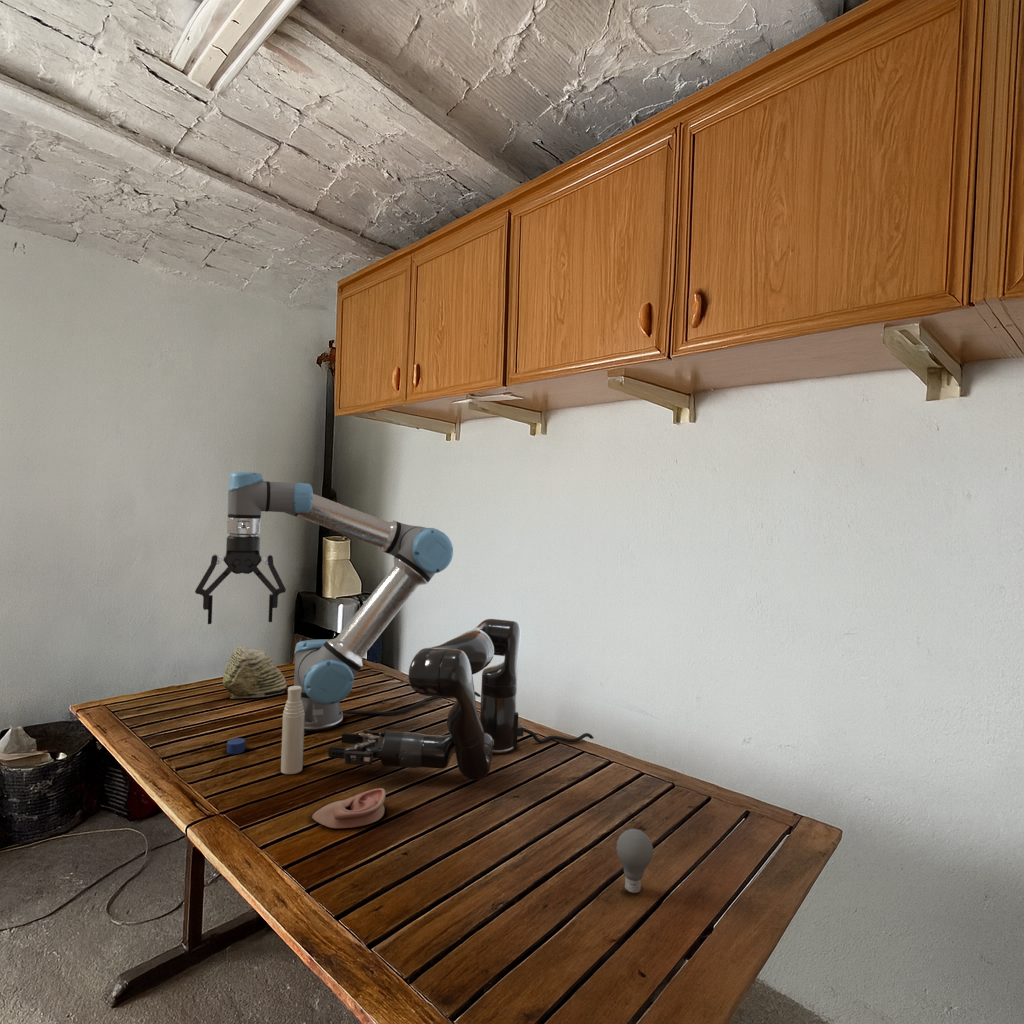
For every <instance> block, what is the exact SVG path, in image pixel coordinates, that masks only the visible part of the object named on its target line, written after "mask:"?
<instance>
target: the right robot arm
mask: <svg viewBox="0 0 1024 1024" xmlns="http://www.w3.org/2000/svg"><path fill="white" fill-rule="evenodd" d="M521 638H522V629H521V626H520V623H519V622H518V621H516V620H511V619H510V620H509V619H499V618H487V619H484V620H482V621H481V622H479V624H477V625H476V626H475V627H474V628H472V629H470V630H468V631H465V632H464V633H461V634H459V635H457V636H456V637H454V638H451V639H450V640H447V641H446V642H444V643H441V644H439V645H435V646H429V647H424V648H422V649H420V650H418V652H417V653H416V654H415V655H414V656H413V658H412V660H411V662H410V665H409V669H408V683H409V684H410V685H409V686H410V687H411V688H412V690H413V691H414V692H415V693H417V694H418V695H421V696H424V697H432V696H435V697H441V698H448V699H449V698H450V699H451V698H454V699H456V701H454V703H453V705H451V708H450V709H449V710H448V714H447V718H446V725H447V730H448V732H449V734H445V735H436V734H424V733H419V732H412V731H411V732H408V731H395V730H388V731H382V730H370V729H364V730H362V732H361V731H360V732H358V733H355V732H354V733H353V732H343V733H342V734H341V743H342V744H351V745H354V746H350V747H343V746H330V747H329V748H328V752H327V755H328V758H331V759H332V758H333V759H344V764H345V765H357V766H372V765H373V760H375V759H379V760H380V761H381V764H382V766H384V767H395V768H396V767H397V768H409V769H415V768H416V769H417V768H425V769H426V768H427V769H441V770H442V769H446V768H447V767H448V766H449V764H450V762H451V760H452V758H453V755H455V757H456V763H457V767H458V771H459V772H460V773H461V775H462V776H463V777H465V778H466V779H468V780H470V781H480V780H483V779H485V778H487V776H488V775H489V773H490V770H491V767H492V759H493V754H495V755H497V754H498V755H500V754H501V755H502V754H507V753H511V752H513V751H514V750H515V751H516V750H518V738H519V737H524V733H527V734H528V735H530V736H531V737H532V738H533V739H534V741H535V742H537V743H538V744H543V743H546V742H548V741H551V740H557V741H562V742H565V743H577V742H580V741H582V740H583V739H584V738H589V739H590V740H593V739H595V737H594V736H593V735H592V734H591V733H589V732H585V733H582V734H581V735H579V736H577V737H574V738H570V737H569V738H568V737H563V736H559V735H548V736H545V737H544V738H539V737H538V735H537V734H536V733H535V732H534V731H532V730H530V729H528V728H525V727H523V725H521V724H520V723H519V712H518V710H517V693H518V691H517V690H518V673H519V661H520V659H519V658H520V650H521V649H520V647H521V640H522V639H521ZM494 656H497V657H499V656H500V657H504V659H503V661H502V662H501V663H498V664H495V665H491V666H489V665H490V663H491V662H492V661H493V658H494ZM481 671H482V672H481ZM480 672H481V684H480V685H481V687H480V688H481V689H480V690H481V691H480V695H481V697H480V707H479V708H480V712H478V708H477V701H476V699H477V698H476V695H475V692H476V691H475V685H474V677H473V675H475V674H478V673H480Z"/></svg>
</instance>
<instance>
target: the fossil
mask: <svg viewBox="0 0 1024 1024" xmlns="http://www.w3.org/2000/svg"><path fill="white" fill-rule="evenodd" d="M222 676H223V677H222V685H223V687H224V688H225V690H226V691H228V693H229V698H230V699H250V698H264V697H271V696H275V695H281V694H284V693H285V691H286V689H287V688H288V686H287V680H286V678H285V676H284V674H283V673H282V672H281V669H279V668H278V667H277V665H276V663H275V662H274V660H273V659H272V658H271V657H270V656H269V655H268V654H267V653H266V652H265V650H264V649H263V648H260V647H258V648H251V647H247V646H246V647H245V646H238V647H237V648H236V649H235V650H233V651H232V653H231V656H230V657H229V659H228V660H227V663H226V666H225V668H224V671H223V675H222Z"/></svg>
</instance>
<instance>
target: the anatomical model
mask: <svg viewBox="0 0 1024 1024" xmlns="http://www.w3.org/2000/svg"><path fill="white" fill-rule="evenodd" d="M386 794H387V793H386V790H385V788H381V787H380V788H374V789H370V790H367V791H364V792H360V793H358V794H355V795H353V796H351V797H348V798H346V799H342V800H337V801H333V802H331V803H327V804H326V805H324V806H322V807H320V808H318V810H316V811H314V813H312V816H311V818H312V820H313V821H315V823H318V824H319V825H322V826H323V827H326V828H329V829H348V828H350V829H351V828H358V827H363V826H367V825H370V824H373V823H375V822H377V821H379V820H381V819H382V818H383V817H384V815H385V805H384V803H385V802H386V801H385V800H386V796H387V795H386Z"/></svg>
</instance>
